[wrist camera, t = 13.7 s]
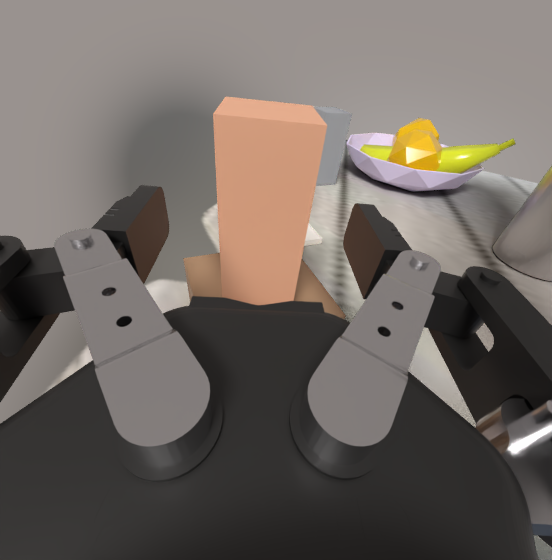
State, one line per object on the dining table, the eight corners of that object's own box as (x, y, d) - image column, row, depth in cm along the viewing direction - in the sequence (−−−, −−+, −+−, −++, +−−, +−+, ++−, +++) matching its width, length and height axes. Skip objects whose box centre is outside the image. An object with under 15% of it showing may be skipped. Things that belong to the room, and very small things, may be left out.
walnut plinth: (283, 280, 30) (289, 242, 27) (330, 354, 23) (345, 315, 20) (189, 299, 27) (183, 258, 23) (213, 393, 20) (208, 353, 17)
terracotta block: (287, 267, 24) (312, 105, 16) (291, 309, 20) (327, 125, 12) (229, 264, 23) (225, 96, 15) (222, 306, 20) (213, 114, 12)
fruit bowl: (315, 166, 61) (326, 106, 53) (389, 154, 74) (406, 105, 67) (429, 223, 44) (468, 149, 37) (497, 194, 58) (536, 136, 50)
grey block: (322, 174, 57) (336, 107, 49) (335, 184, 53) (352, 113, 46) (301, 176, 55) (311, 106, 47) (312, 185, 52) (326, 112, 44)
